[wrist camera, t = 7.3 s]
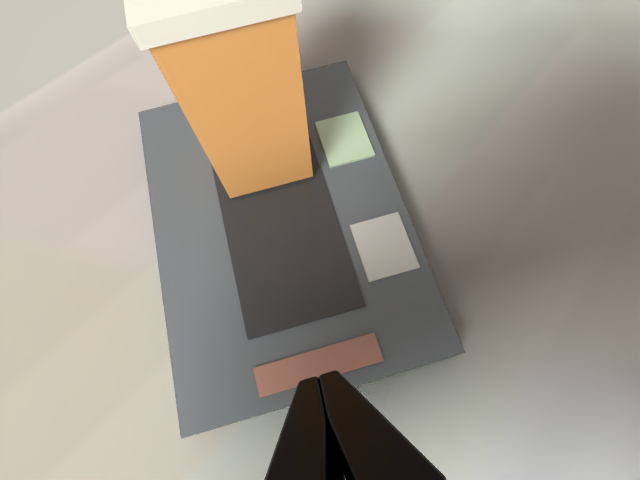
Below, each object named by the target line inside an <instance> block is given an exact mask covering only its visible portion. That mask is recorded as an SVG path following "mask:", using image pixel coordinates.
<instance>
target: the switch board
mask: <svg viewBox="0 0 640 480" xmlns="http://www.w3.org/2000/svg"><path fill="white" fill-rule="evenodd" d="M302 80H303V89H304V98H305V107H306V116H307V125H308V134H309V143H310V152H311V161H312V170H313V177H309V178H305V179H302V180H298V181H294V182H290V183H287V184H283V185H279V186H275V187H272V188H268V189H264V190H260V191H256V192H253V193H249V194H245V195H241V196H238V197H234V198H230V197H229V195H228V193H227V192H226V190H225V188H224V186H223V184H222V182H221V181H220V179H219V177H218V175H217V173H216V171H215V170H214V168H213V166H212V164H211V162H210V160H209V159H208V157H207V155H206V153H205V151H204V149H203V148H202V146H201V144H200V142H199V140H198V138H197V137H196V135H195V133H194V131H193V129H192V127H191V125H190V124H189V122H188V120H187V118H186V116H185V114H184V113H183V111H182V109H181V107H180V105H179V103H174V104H170V105H166V106H162V107H158V108H154V109H150V110H146V111H141V112H139V119H140V127H141V135H142V142H143V150H144V158H145V165H146V173H147V181H148V188H149V196H150V204H151V211H152V219H153V227H154V235H155V242H156V250H157V258H158V265H159V273H160V281H161V288H162V296H163V304H164V311H165V319H166V327H167V335H168V342H169V350H170V358H171V365H172V373H173V381H174V388H175V396H176V404H177V412H178V419H179V427H180V435H181V438H185V437H189V436H192V435H195V434H199V433H202V432H205V431H209V430H212V429H215V428H218V427H222V426H225V425H228V424H232V423H235V422H238V421H242V420H245V419H248V418H251V417H255V416H258V415H261V414H265V413H268V412H271V411H275V410H278V409H281V408H284V407H288V406H290V405H291V402H292V399H293V397H294V394H295V391H296V388H297V385H298V383H299V382H300V381H301V380H304V379H307V378H311V377H314V376H316V377H318V379H319V376H320V375H321V374H324V373H327V372H331V371H334V370H336V371H338V372H339V373H340V374H341V375H342V376H344V377H345V378H346V379H347V380H348V381H349V382H350V383H351V384H352V385H353V386H357V385H360V384H364V383H367V382H370V381H373V380H377V379H380V378H383V377H387V376H390V375H393V374H396V373H400V372H403V371H406V370H410V369H413V368H416V367H420V366H423V365H426V364H429V363H433V362H436V361H439V360H443V359H446V358H449V357H453V356H456V355H459V354H462V353H465V351H464V349H463V346H462V344H461V341H460V339H459V336H458V334H457V331H456V329H455V326H454V324H453V322H452V319H451V317H450V314H449V312H448V309H447V307H446V304H445V302H444V300H443V297H442V295H441V292H440V290H439V287H438V285H437V282H436V280H435V278H434V275H433V273H432V270H431V268H430V265H429V263H428V260H427V258H426V256H425V253H424V251H423V248H422V246H421V243H420V241H419V238H418V236H417V234H416V231H415V229H414V226H413V224H412V221H411V219H410V216H409V214H408V211H407V209H406V207H405V204H404V202H403V199H402V197H401V194H400V192H399V189H398V187H397V185H396V182H395V180H394V177H393V175H392V172H391V170H390V167H389V165H388V163H387V160H386V158H385V155H384V153H383V150H382V148H381V145H380V143H379V141H378V138H377V136H376V133H375V131H374V128H373V126H372V123H371V121H370V119H369V116H368V114H367V111H366V109H365V106H364V104H363V101H362V99H361V96H360V94H359V92H358V89H357V87H356V84H355V82H354V79H353V77H352V74H351V72H350V70H349V67H348V65H347V62H346V61H343V62H339V63H335V64H331V65H327V66H323V67H319V68H315V69H311V70H307V71H303V72H302Z"/></svg>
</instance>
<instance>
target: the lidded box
mask: <svg viewBox="0 0 640 480" xmlns="http://www.w3.org/2000/svg"><path fill="white" fill-rule="evenodd" d="M124 6H125V15H126V22H127V28H128V30H129V31H130V33H131V35H132V37H133V38H134V40H135V42H136V44H137V45H138V47H139V49H140V51H141V50H145V49H149V50H150V52H151V54H152V56H153V58H154V59H155V61H156V63H157V65H158V67H159V69H160V70H161V72H162V74H163V76H164V78H165V80H166V81H167V83H168V85H169V87H170V89H171V91H172V92H173V94H174V96H175V98H176V100H177V102H178V103H179V105H180V107H181V109H182V111H183V113H184V114H185V116H186V118H187V120H188V122H189V124H190V125H191V127H192V129H193V131H194V133H195V135H196V137H197V138H198V140H199V142H200V144H201V146H202V148H203V149H204V151H205V153H206V155H207V157H208V159H209V160H210V162H211V164H212V166H213V168H214V170H215V171H216V173H217V175H218V177H219V179H220V181H221V182H222V184H223V186H224V188H225V190H226V192H227V193H228V195H229V197H230V198H234V197H238V196H241V195H245V194H249V193H253V192H256V191H260V190H264V189H268V188H272V187H275V186H279V185H283V184H287V183H290V182H294V181H298V180H302V179H305V178H309V177H313V170H312V161H311V152H310V143H309V134H308V125H307V116H306V107H305V98H304V89H303V80H302V71H301V63H300V54H299V45H298V36H297V27H296V18H295V14H296V13H301V12H302V2H301V0H124Z"/></svg>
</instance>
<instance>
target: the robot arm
mask: <svg viewBox="0 0 640 480" xmlns="http://www.w3.org/2000/svg"><path fill="white" fill-rule="evenodd" d="M344 476H345V477H344ZM345 479H346V480H446V477H445V476H444V475H443V474H442V473H441V472H440V471H439V470H438V469H437V468H436V467H435V466H434V465H433V464H432V463H431V462H430V461H429V460H428V459H427V458H426V457H425V456H424V455H423V454H422V453H421V452H420V451H419V450H418V449H417V448H416V447H415V446H414V445H413V444H412V443H411V442H410V441H409V440H408V439H406V438H405V437H404V436H403V435H402V434H401V433H400V432H399V431H398V430H397V429H396V428H395V427H394V426H393V425H392V424H391V423H390V422H389V421H388V420H387V419H386V418H385V417H384V416H383V415H382V414H381V413H380V412H379V411H378V410H377V409H376V408H375V407H374V406H373V405H372V404H371V403H370V402H369V401H368V400H367V399H366V398H365V397H364V396H363V395H362V394H361V393H360V392H359V391H358V390H357V389H356V388H355V387H354V386H353V385H352V384H351V383H350V382H349V381H348V380H347V379H346V378H345V377H344V376H342V375H341V374H340V373H339V372H338V371H336V370H334V371H331V372H327V373H324V374H321V375H320V376H319V379H318V377H316V376H314V377H311V378H307V379H304V380H301V381H300V382H299V383H298V385H297V388H296V391H295V394H294V397H293V399H292V402H291V405H290V408H289V411H288V414H287V417H286V419H285V422H284V425H283V428H282V431H281V434H280V437H279V439H278V442H277V445H276V448H275V451H274V454H273V457H272V459H271V462H270V465H269V468H268V471H267V474H266V477H265V479H264V480H345Z"/></svg>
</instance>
